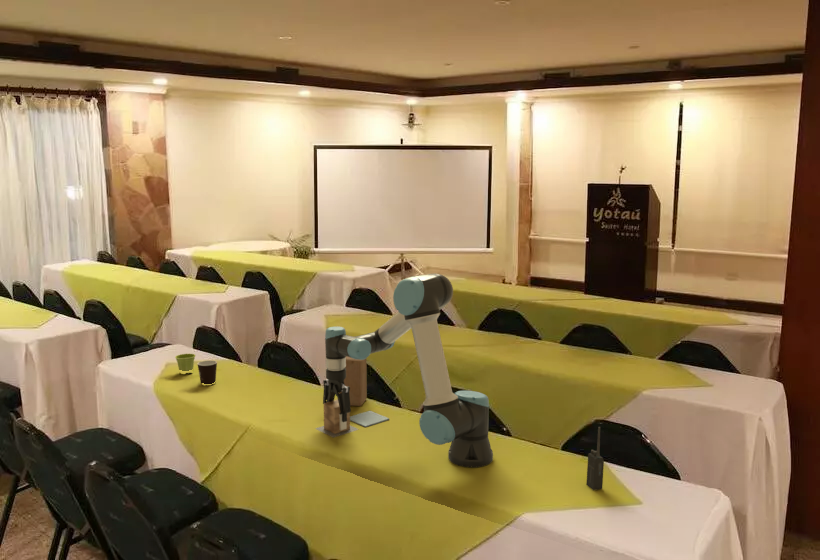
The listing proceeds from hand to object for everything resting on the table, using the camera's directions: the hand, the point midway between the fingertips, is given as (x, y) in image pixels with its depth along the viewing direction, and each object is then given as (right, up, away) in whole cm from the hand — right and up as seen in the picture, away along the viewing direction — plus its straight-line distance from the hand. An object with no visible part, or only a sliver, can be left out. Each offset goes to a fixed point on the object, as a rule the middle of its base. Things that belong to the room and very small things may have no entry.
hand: (337, 426), depth 253 cm
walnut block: (0, -1, 0) cm, 1 cm away
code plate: (0, -1, 0) cm, 1 cm away
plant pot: (-81, +10, +71) cm, 108 cm away
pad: (+11, 0, +10) cm, 15 cm away
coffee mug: (-65, +8, +56) cm, 87 cm away
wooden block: (+3, +3, +30) cm, 31 cm away
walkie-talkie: (+85, -9, -46) cm, 97 cm away
